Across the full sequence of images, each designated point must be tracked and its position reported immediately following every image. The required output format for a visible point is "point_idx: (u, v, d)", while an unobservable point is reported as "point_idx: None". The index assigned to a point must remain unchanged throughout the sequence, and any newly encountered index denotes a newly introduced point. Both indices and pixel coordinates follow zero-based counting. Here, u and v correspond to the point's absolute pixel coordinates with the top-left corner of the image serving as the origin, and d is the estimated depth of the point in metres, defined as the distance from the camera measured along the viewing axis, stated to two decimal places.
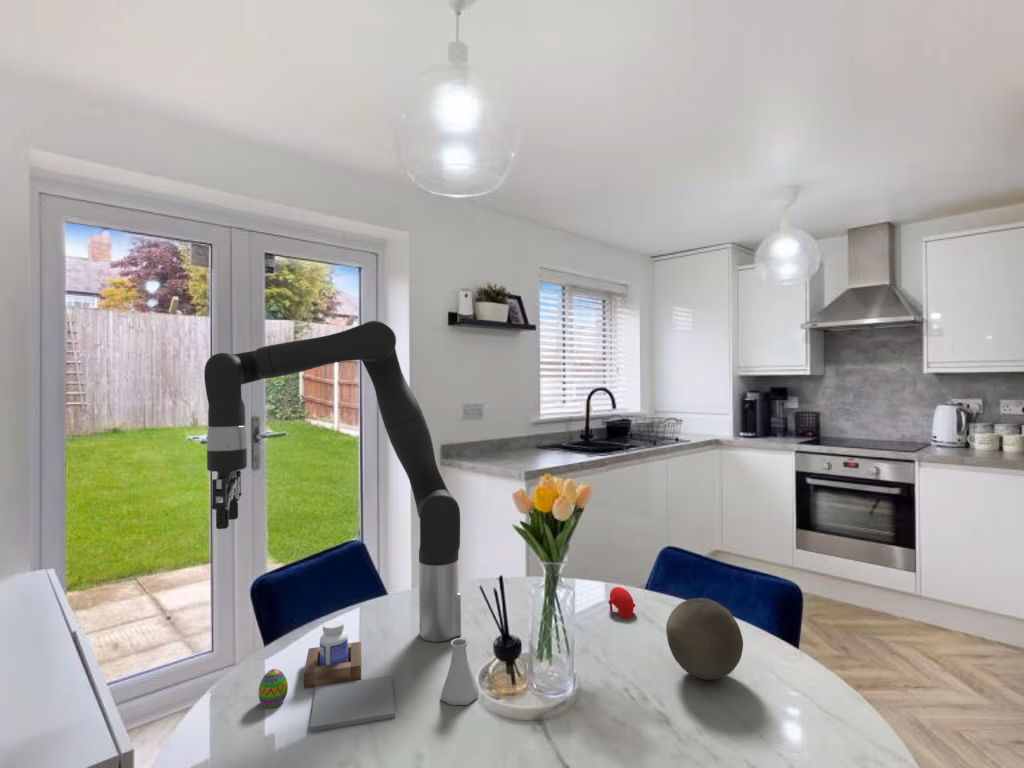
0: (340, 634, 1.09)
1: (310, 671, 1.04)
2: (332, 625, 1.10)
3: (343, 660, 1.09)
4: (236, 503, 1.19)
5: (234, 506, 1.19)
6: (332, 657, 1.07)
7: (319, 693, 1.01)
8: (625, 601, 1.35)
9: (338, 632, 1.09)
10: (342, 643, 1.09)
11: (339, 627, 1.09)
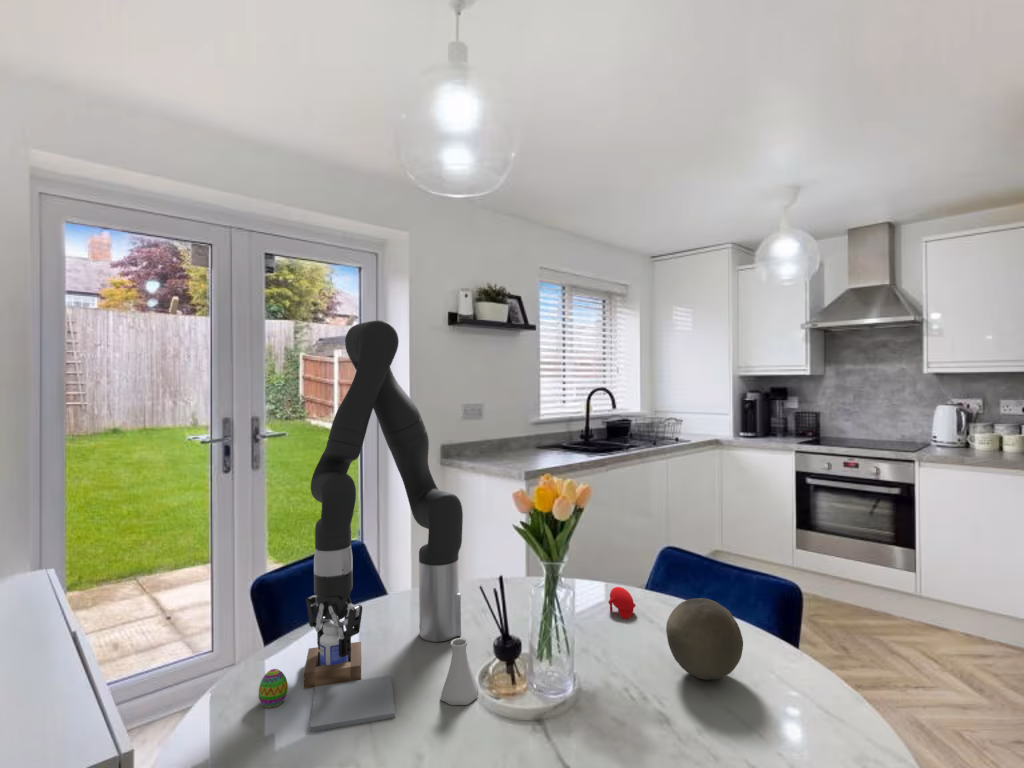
0: None
1: (310, 671, 1.04)
2: (332, 624, 1.10)
3: (343, 660, 1.09)
4: None
5: None
6: (332, 657, 1.07)
7: (319, 693, 1.01)
8: (625, 601, 1.35)
9: None
10: None
11: None
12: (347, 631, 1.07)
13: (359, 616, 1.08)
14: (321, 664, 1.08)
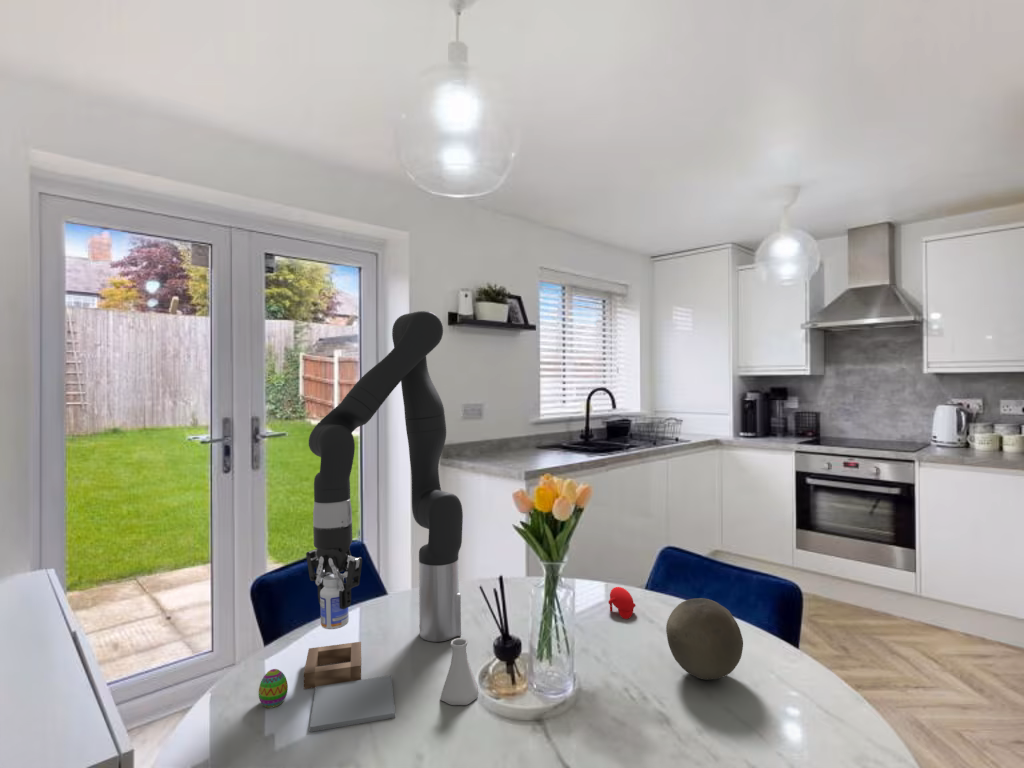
0: None
1: (310, 671, 1.04)
2: (332, 577, 1.10)
3: (344, 612, 1.09)
4: None
5: None
6: (333, 609, 1.08)
7: (319, 693, 1.01)
8: (625, 601, 1.35)
9: (338, 584, 1.09)
10: None
11: None
12: (347, 582, 1.07)
13: (359, 568, 1.08)
14: (322, 616, 1.09)
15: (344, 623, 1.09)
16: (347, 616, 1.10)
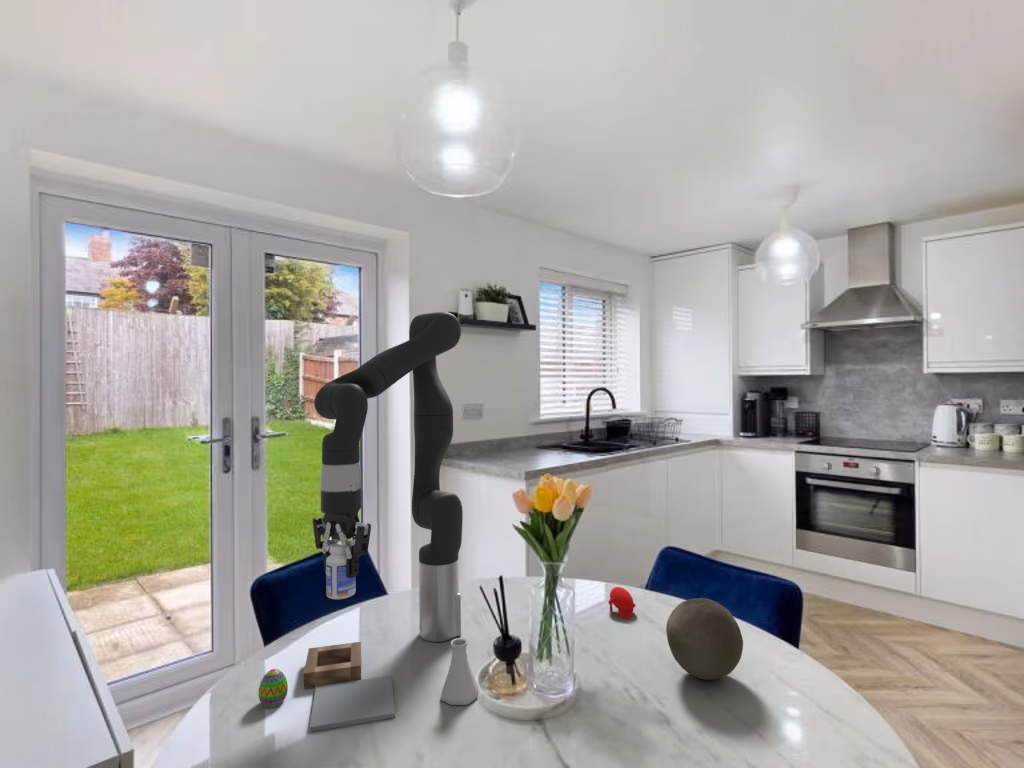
0: None
1: (310, 671, 1.04)
2: (339, 545, 1.04)
3: (351, 582, 1.03)
4: None
5: None
6: (339, 578, 1.02)
7: (319, 693, 1.01)
8: (625, 601, 1.35)
9: (345, 552, 1.03)
10: None
11: None
12: (355, 550, 1.01)
13: (367, 535, 1.02)
14: (327, 585, 1.03)
15: (351, 593, 1.03)
16: (354, 586, 1.04)
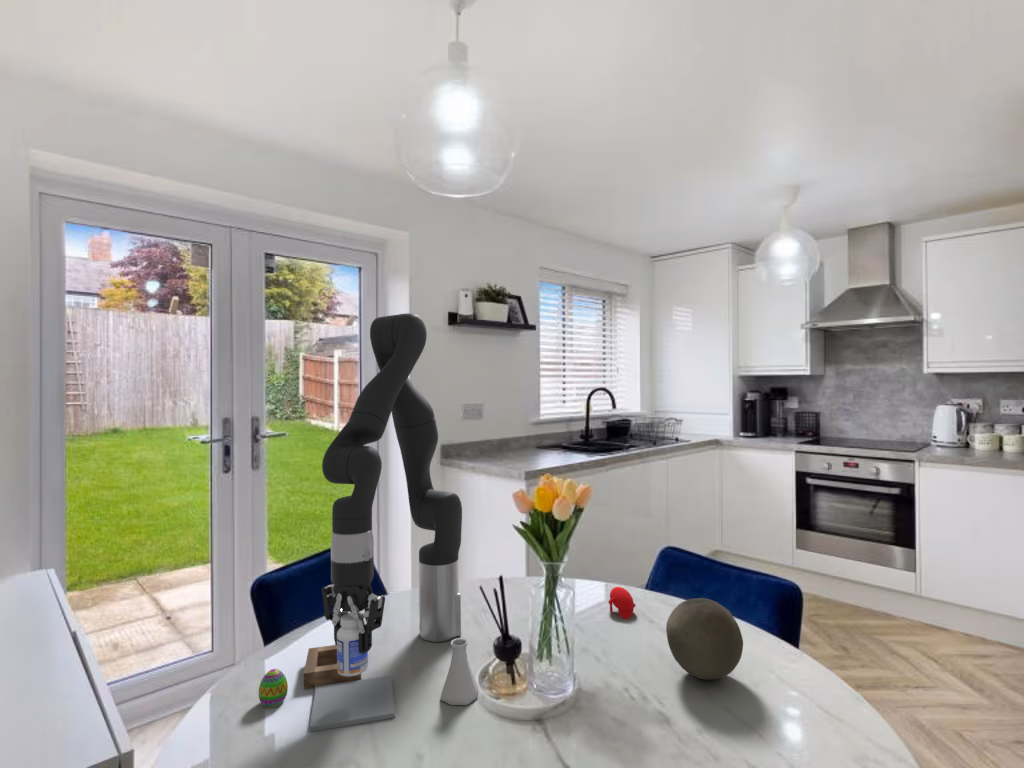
0: None
1: (310, 671, 1.04)
2: (350, 617, 0.98)
3: (363, 657, 0.97)
4: None
5: None
6: (351, 654, 0.96)
7: (319, 693, 1.01)
8: (625, 601, 1.35)
9: (357, 625, 0.97)
10: None
11: None
12: (368, 624, 0.95)
13: (381, 608, 0.96)
14: (338, 661, 0.97)
15: (363, 669, 0.97)
16: (366, 661, 0.98)
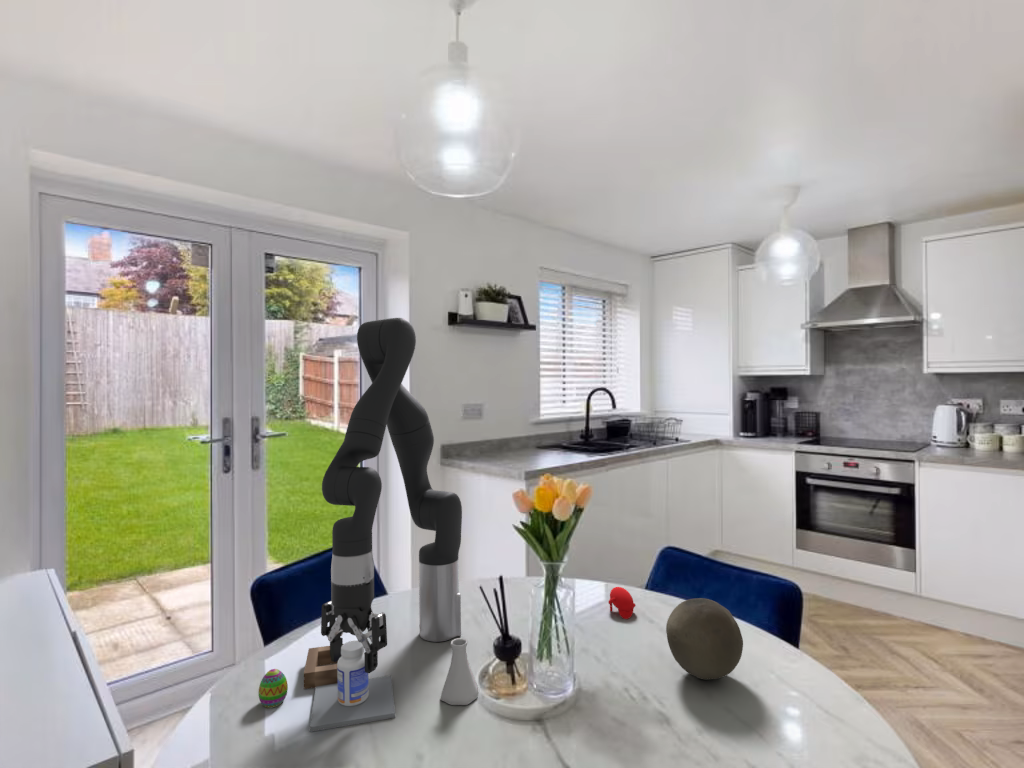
0: (360, 657, 0.98)
1: (310, 671, 1.04)
2: (351, 646, 0.98)
3: (364, 686, 0.97)
4: None
5: None
6: (352, 683, 0.96)
7: (319, 693, 1.01)
8: (625, 601, 1.35)
9: (358, 655, 0.97)
10: (362, 668, 0.97)
11: (359, 649, 0.98)
12: (373, 644, 0.95)
13: (384, 625, 0.96)
14: (339, 691, 0.97)
15: (364, 698, 0.97)
16: (367, 690, 0.99)
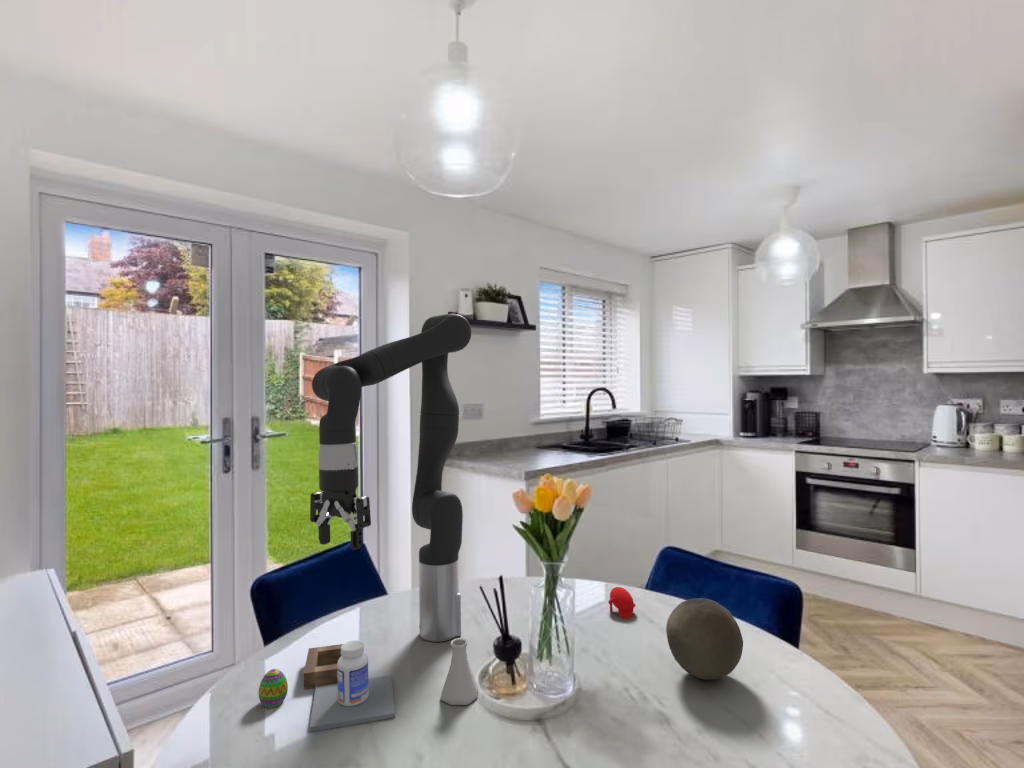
0: (360, 657, 0.98)
1: (310, 671, 1.04)
2: (351, 646, 0.98)
3: (364, 686, 0.97)
4: None
5: None
6: (352, 683, 0.96)
7: (319, 693, 1.01)
8: (625, 601, 1.35)
9: (358, 655, 0.97)
10: (362, 668, 0.97)
11: (359, 649, 0.98)
12: (358, 522, 1.05)
13: (367, 506, 1.06)
14: (339, 691, 0.97)
15: (364, 698, 0.97)
16: (367, 690, 0.99)
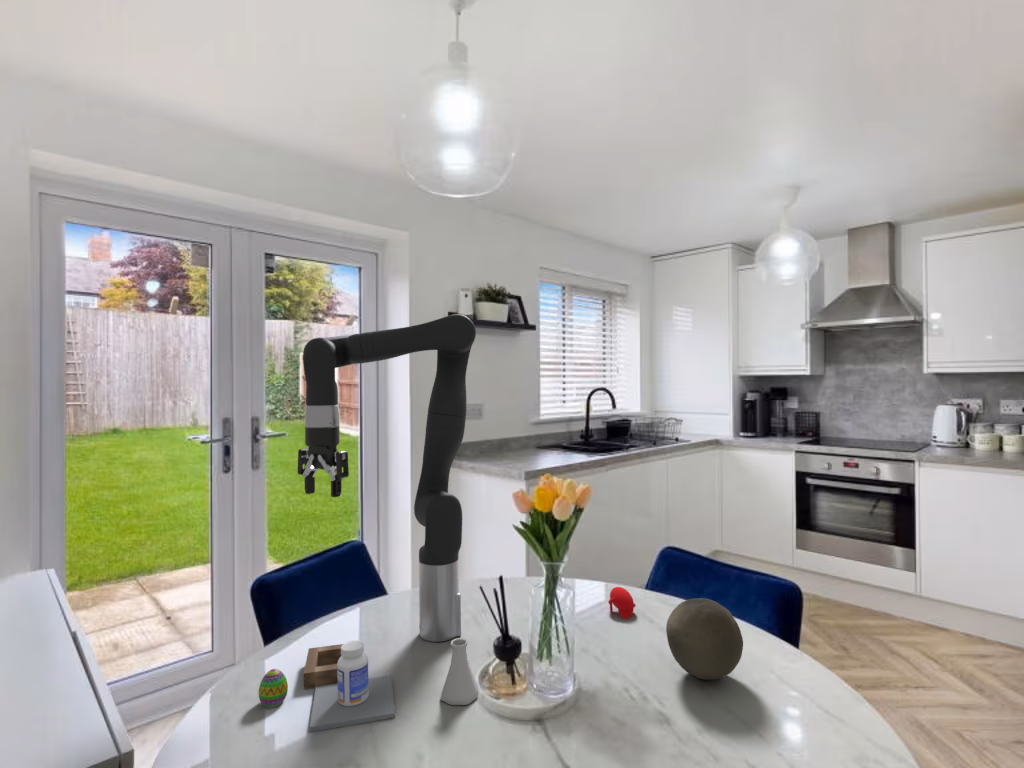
0: (360, 657, 0.98)
1: (310, 671, 1.04)
2: (351, 646, 0.98)
3: (364, 686, 0.97)
4: None
5: None
6: (352, 684, 0.96)
7: (319, 693, 1.01)
8: (625, 601, 1.35)
9: (358, 655, 0.97)
10: (362, 668, 0.97)
11: (359, 649, 0.98)
12: (337, 473, 1.21)
13: (346, 459, 1.22)
14: (339, 691, 0.97)
15: (364, 698, 0.97)
16: (367, 690, 0.99)
